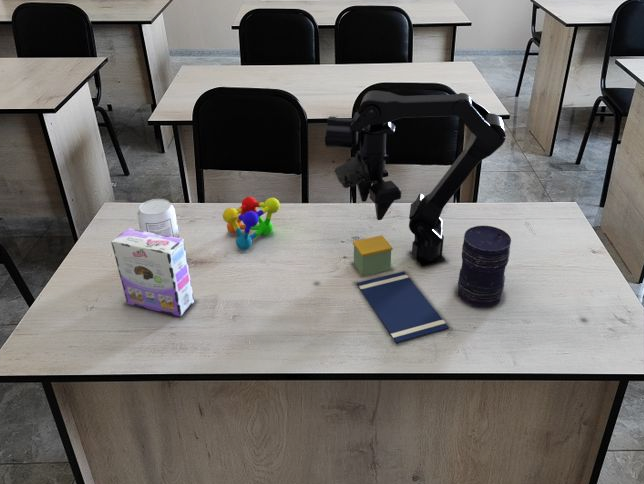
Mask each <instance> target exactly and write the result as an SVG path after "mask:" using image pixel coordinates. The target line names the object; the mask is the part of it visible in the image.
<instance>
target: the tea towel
mask: <svg viewBox="0 0 644 484" xmlns="http://www.w3.org/2000/svg"><path fill="white" fill-rule="evenodd" d="M356 286H357V287H358V289H359V290H360V292H361V293H362V295H363V296H364V298H365V299H366V301H367V302H368V304H369V306H370V307H371V309H372V311H374V313H375V314H376V315H377V318H378V319H379V320H380V322H381V323H382V325H383V327H384V328H385V329H386V331H387V332H388V334H389V335H390V337H391V339H392V340H393V342H394V343H395V344H399V343H400V344H401V343H404V342H407V341H411V340H414V339H418V338H421V337H425V336H428V335H432V334H436V333H440V332H442V331H445V330H449V329H450V327H449V326H448V324H447V323H446V321H445V320H444V319H443V318H442V316H440V314H439V313H438V312H437V310H436V309H435V308H434V307H433V305H432V304H431V302H429V300H428V299H427V298H426V297H425V295H424V294H423V293H422V292H421V291H420V289H419V288H418V287H417V285H416V284H415V283H414V281H412V279H411V277H410V276H409V275H408V274H407V272H405V271H400V272H396V273H392V274H387V275H383V276H379V277H375V278H371V279H370V278H369V279H367V280H363V281H359V282H356Z"/></svg>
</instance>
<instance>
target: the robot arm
mask: <svg viewBox="0 0 644 484" xmlns="http://www.w3.org/2000/svg"><path fill="white" fill-rule="evenodd" d="M441 117H443V118H444V117H457V118H459V120H460V121H461V122H463V124H464V125H465V126H466V128H468V130H469V131H470V132H471V133H470V136H469V139H468V141H467V144H466V146H465V147H464V149H463V150H462V151H461V153H460V154H459V155H458V157H457V158H456V159H455V161H454V162H453V163H452V164H451V166H450V167H449V168H448V169H447V171H446V172H445V173H444V175H443V176H442V177H441V179H440V180H439V182H438V183H437V184H436V185H435V186H434V188H433V189H432V190H431V192H430V193H428V194H426V195H424V194H422V193H418V195H417V198H416V199H415V200H414V201H413V202H412V203H410V208H409V215H408V219H409V220H408V229H409V231H410V232H411V233H412V234H413V236H414V239H413V241H412V242H411V243H412V244H411V245H412V246H411V250H410V251H409V254H410V255H411V257H412V258H413V259H414V260H415V261H416V262H417V264H419V265H420V266H421V267H427V266H431V265H436V264H441V263H444V262H446V258H445V257H444V255H443V252H444V241H445V236H444V235H443V219H442V218H441V215H442V212H443V210H444V208H445V206H446V205H447V204H448V203H449V201H450V200H451V199H452V198H453V196H454V195H455V194H456V192H458V190H459V189H460V187H461V186H462V185H463V184H464V183H465V181H466V180H467V179H468V178H469V176H470V175H471V173H472V172H473V171H474V170H475V169H476V167H477V166H478V165H479V163H481V161H483V160H485V159H487V158H489V157H490V156H492V155H493V154H494V153H495V152H496V151H497V150H498V149H499V148H501V147H502V146H503V145H504V143H505V142H506V136H507V135H506V130H505V125H504V121H503V119H502V117H501V116H500V115H498V114H496V113H491V112H490V111H488V109H486V107H484V106H483V105H481V104H480V103H478V102H477V101H475V100H474V99H473V98H472V97H471V96H470V95H469V94H468V93H466V92H460V93H455V94H453V93H452V94H424V95H423V94H422V95H401V94H397V93H393V92H391V91H383V90H369V91H368V92H366V93H365V95H364V96H363V97H362V100H361V102H360V104H359V108H358V110H357V111H356V112H354V114H353V118H349V117H337V116H329V117H327V119H326V129H325V136H324V144H325V145H324V146H325V148H329V149H330V148H331V149H342V150H343V149H345V150H352V149H353V148H354V146H356V145H358V141H359V150H356V153H355V156H351V157H348V158H347V159H346V161H345V162H344V163H342V164H341V165H338V166H337V167H335V168H334V169H333V170H334V174H335V175H336V178H337V180H338V182H339V183H340V185H342V187H343V189H348V188H351V187H355V186H357V190H358V193H359V197H360V201H361V202H362V203H365V202H367V200H368V198H369V199H370V200H371V202H372V203H374V208H375V214H376V216H375V217H376V220H377V221H382V220H383V218H384V216H385V215H386V214H387V212H388V211H389V209H390V207H391V206H392V204H393V203H394V202H395V201H398V200H400V199H401V198H402V189H401V188H400V187H399V186H398V185H397V184H396V183H395V182H394V181H393V180H387V181H385V179H383V178H387V177H389V172H388V170H386V161H389V160H390V155H389V154H388V153H387V149H386V148H387V135H394V134H395V131H396V125H395V124H394V123H392V122H394V121H396V120H400V119H404V118H405V119H408V118H409V119H410V118H441Z"/></svg>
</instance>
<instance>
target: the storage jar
mask: <svg viewBox="0 0 644 484" xmlns="http://www.w3.org/2000/svg"><path fill="white" fill-rule="evenodd" d="M511 244H512V238H511V236H510V235H509V234H508V233H507V231H505V230H503V229H501V228H499V227H496V226H492V225H475V226H472V227H469V228H468V229H467V230H466V231H465V232H464V234H463V242H462V245H461V246H462V247H461V268H460V270H459V273H458V280H457V284H458V286H457V296H458V298H459V299H460V300H461V301H462V302H463V303H464V304H466V305H468V306H470V307H474V308H478V309H490V308H493V307H495V306H497V305H498V304H500V302H501V301H502V298H503V292H504V289H505V281H506V275H505V273H506V267H507V265H508V263H509V258H510V253H511Z"/></svg>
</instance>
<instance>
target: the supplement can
mask: <svg viewBox="0 0 644 484" xmlns="http://www.w3.org/2000/svg"><path fill="white" fill-rule="evenodd" d="M137 220H138V225H139V231H144V232H149V233H154V234H159V235H164V236H169V237H175V238H180V239H181V237H180V233H179V232H180V231H179V228H178V222H177V221H178V220H177V216H176V210H175V207H174V206H173V204H172V203H171V201H170V200H168V199H165V198H153V199H148V200H146V201H144V202H143V203H141V204H140V205H139V207H138V211H137Z"/></svg>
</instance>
